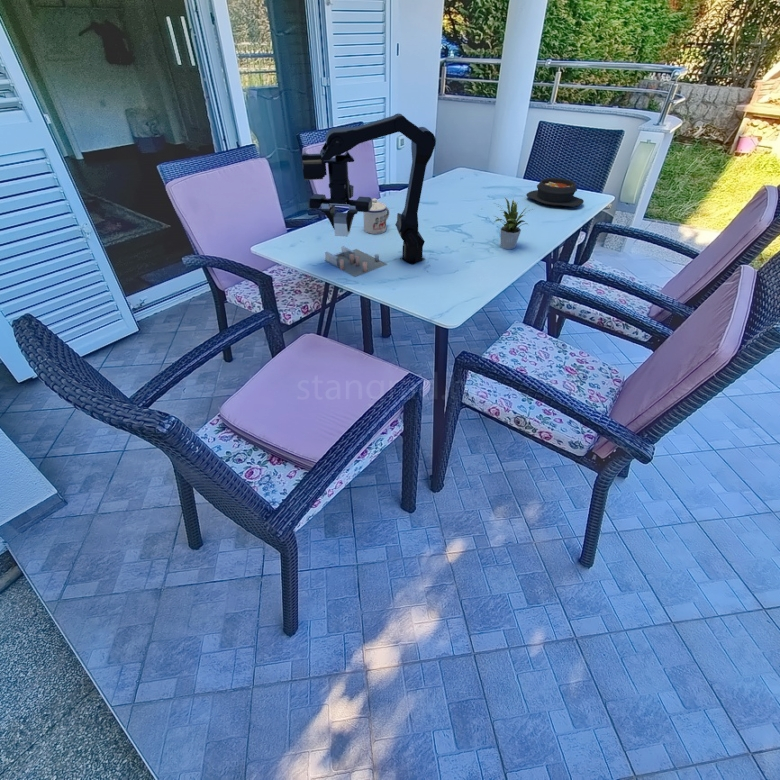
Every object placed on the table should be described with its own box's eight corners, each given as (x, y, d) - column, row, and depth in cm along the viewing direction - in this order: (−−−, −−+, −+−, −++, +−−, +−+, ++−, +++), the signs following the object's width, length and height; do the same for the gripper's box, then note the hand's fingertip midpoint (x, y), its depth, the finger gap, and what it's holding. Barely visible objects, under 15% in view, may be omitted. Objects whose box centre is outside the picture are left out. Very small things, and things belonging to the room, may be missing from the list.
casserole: (588, 202, 198) (594, 182, 192) (572, 214, 187) (577, 193, 181) (536, 192, 210) (540, 172, 204) (518, 202, 199) (521, 182, 194)
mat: (387, 265, 149) (387, 264, 149) (355, 278, 142) (354, 276, 142) (356, 250, 159) (356, 248, 158) (324, 261, 152) (324, 260, 151)
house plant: (478, 240, 165) (483, 194, 155) (510, 235, 169) (518, 190, 158) (498, 255, 155) (506, 207, 144) (532, 249, 159) (542, 202, 148)
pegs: (386, 264, 149) (386, 255, 147) (353, 276, 142) (353, 267, 140) (369, 255, 154) (369, 247, 152) (337, 267, 147) (336, 258, 145)
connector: (347, 236, 140) (346, 217, 136) (334, 235, 141) (333, 216, 137) (350, 231, 143) (349, 212, 140) (338, 231, 144) (336, 212, 140)
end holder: (355, 260, 151) (354, 251, 149) (337, 266, 147) (336, 258, 145) (343, 254, 155) (342, 245, 153) (325, 260, 151) (324, 251, 149)
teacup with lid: (374, 236, 169) (373, 204, 161) (358, 230, 174) (357, 199, 166) (396, 228, 175) (397, 197, 168) (380, 222, 180) (380, 192, 173)
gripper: (375, 172, 136) (376, 223, 146) (316, 169, 139) (321, 220, 149) (367, 182, 128) (369, 236, 138) (305, 179, 130) (311, 232, 140)
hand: (342, 230), depth 141 cm, fingers closed on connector, 4 cm apart
